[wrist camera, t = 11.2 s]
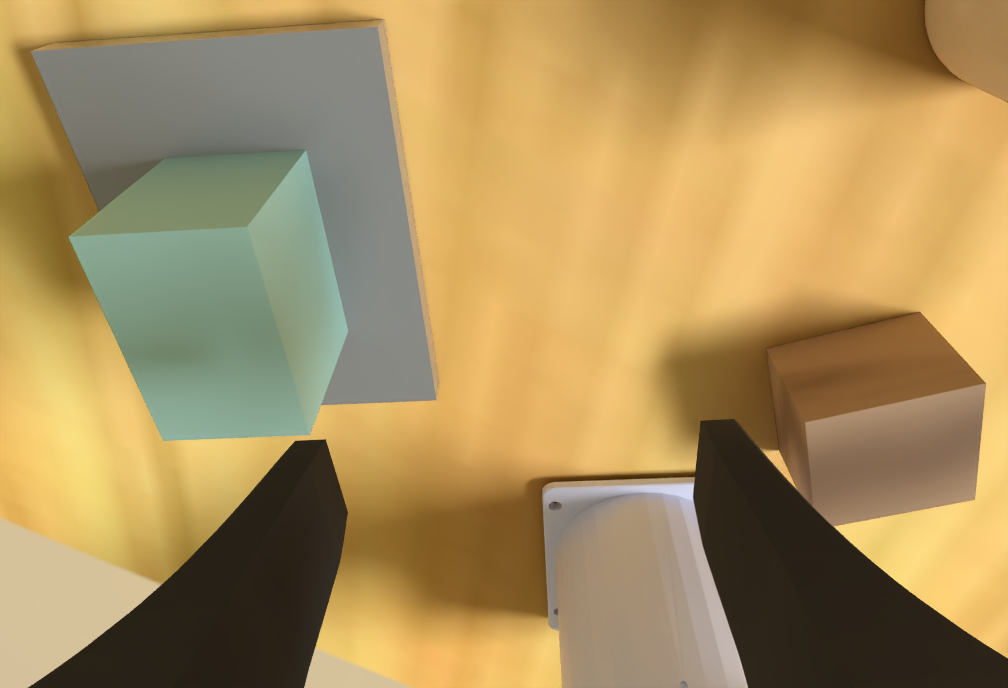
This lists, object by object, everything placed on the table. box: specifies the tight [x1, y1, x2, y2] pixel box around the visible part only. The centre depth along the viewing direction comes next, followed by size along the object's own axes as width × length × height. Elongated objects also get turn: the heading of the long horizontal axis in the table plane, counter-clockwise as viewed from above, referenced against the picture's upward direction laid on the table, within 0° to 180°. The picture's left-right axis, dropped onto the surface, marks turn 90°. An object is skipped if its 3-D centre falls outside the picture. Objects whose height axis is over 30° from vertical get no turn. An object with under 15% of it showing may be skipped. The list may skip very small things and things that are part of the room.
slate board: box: [31, 20, 439, 405], centre depth 21 cm, size 12×9×1 cm
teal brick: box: [68, 150, 348, 441], centre depth 19 cm, size 6×4×5 cm, turn 4°
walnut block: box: [766, 312, 986, 526], centre depth 23 cm, size 5×5×4 cm
